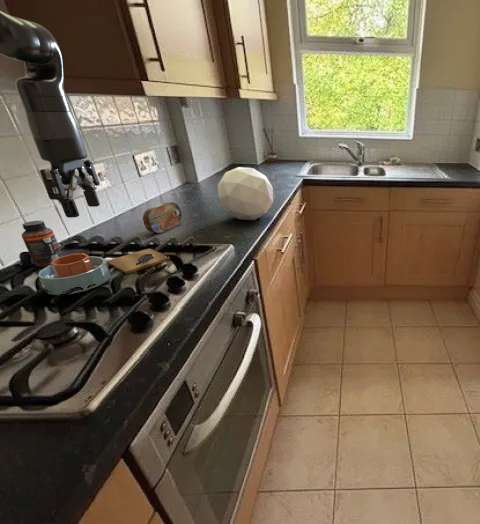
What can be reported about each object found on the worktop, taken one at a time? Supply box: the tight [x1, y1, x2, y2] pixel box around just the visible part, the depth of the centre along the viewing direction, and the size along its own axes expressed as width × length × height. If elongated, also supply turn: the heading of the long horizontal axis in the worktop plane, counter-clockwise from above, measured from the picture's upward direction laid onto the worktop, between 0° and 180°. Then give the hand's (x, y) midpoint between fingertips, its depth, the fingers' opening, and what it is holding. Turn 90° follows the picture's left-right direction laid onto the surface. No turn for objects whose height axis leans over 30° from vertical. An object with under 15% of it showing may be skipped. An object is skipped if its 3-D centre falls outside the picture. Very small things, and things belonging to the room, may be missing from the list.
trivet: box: [106, 248, 171, 275], centre depth 90 cm, size 11×11×1 cm
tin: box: [142, 201, 182, 234], centre depth 113 cm, size 15×3×8 cm, turn 171°
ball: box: [217, 166, 274, 221], centre depth 123 cm, size 19×20×20 cm
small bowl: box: [51, 253, 94, 278], centre depth 77 cm, size 6×6×6 cm
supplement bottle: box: [21, 220, 64, 268], centre depth 86 cm, size 6×6×11 cm
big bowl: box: [37, 255, 111, 296], centre depth 78 cm, size 12×12×4 cm
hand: (84, 211), depth 75 cm, fingers open, 8 cm apart
